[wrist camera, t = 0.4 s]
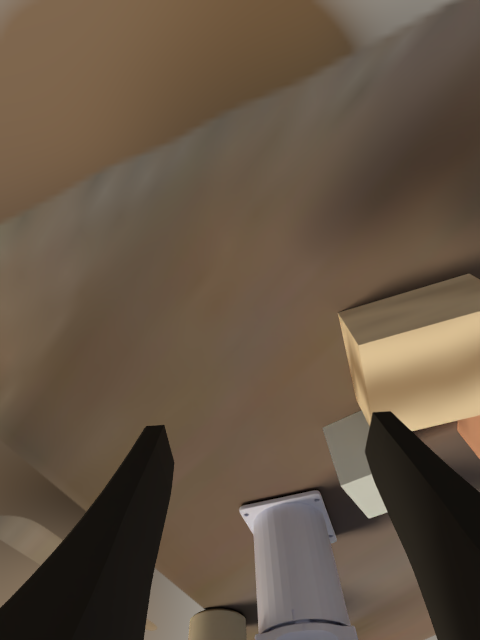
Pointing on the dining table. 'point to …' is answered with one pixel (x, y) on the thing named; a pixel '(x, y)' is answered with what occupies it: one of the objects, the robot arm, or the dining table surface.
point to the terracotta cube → (471, 432)
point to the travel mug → (217, 625)
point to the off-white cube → (354, 462)
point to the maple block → (418, 353)
